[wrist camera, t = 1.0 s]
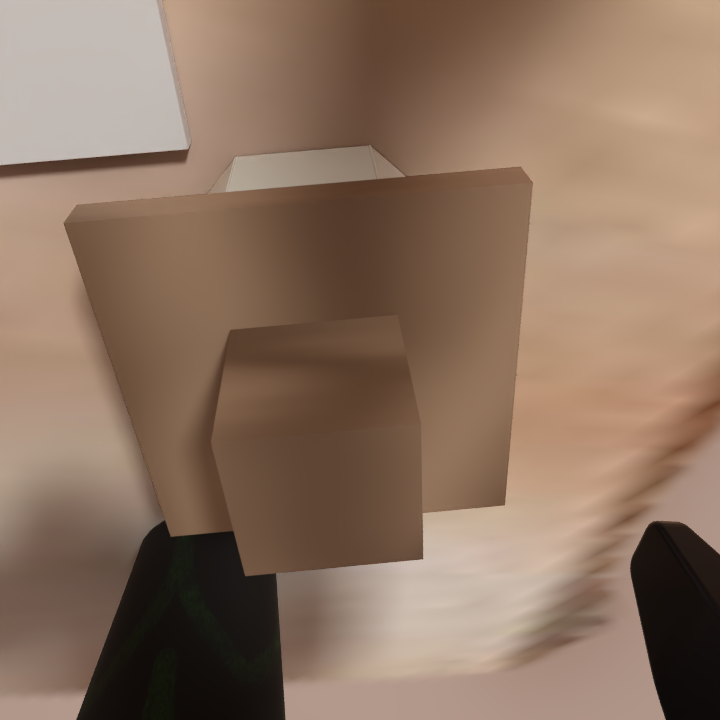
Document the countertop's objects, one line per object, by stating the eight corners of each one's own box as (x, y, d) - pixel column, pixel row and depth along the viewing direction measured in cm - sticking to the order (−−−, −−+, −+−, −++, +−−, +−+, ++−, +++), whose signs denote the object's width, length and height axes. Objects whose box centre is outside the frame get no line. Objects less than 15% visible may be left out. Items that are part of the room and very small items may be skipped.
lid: (176, 511, 21) (144, 663, 17) (76, 205, 15) (-9, 323, 11) (496, 480, 21) (542, 624, 17) (520, 166, 15) (599, 269, 11)
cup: (77, 567, 28) (-46, 933, 18) (183, 463, 25) (104, 833, 15) (228, 633, 31) (192, 972, 22) (337, 548, 28) (353, 896, 19)
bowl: (204, 415, 24) (188, 499, 21) (139, 164, 19) (104, 222, 15) (458, 392, 24) (482, 471, 21) (464, 136, 19) (498, 188, 15)
